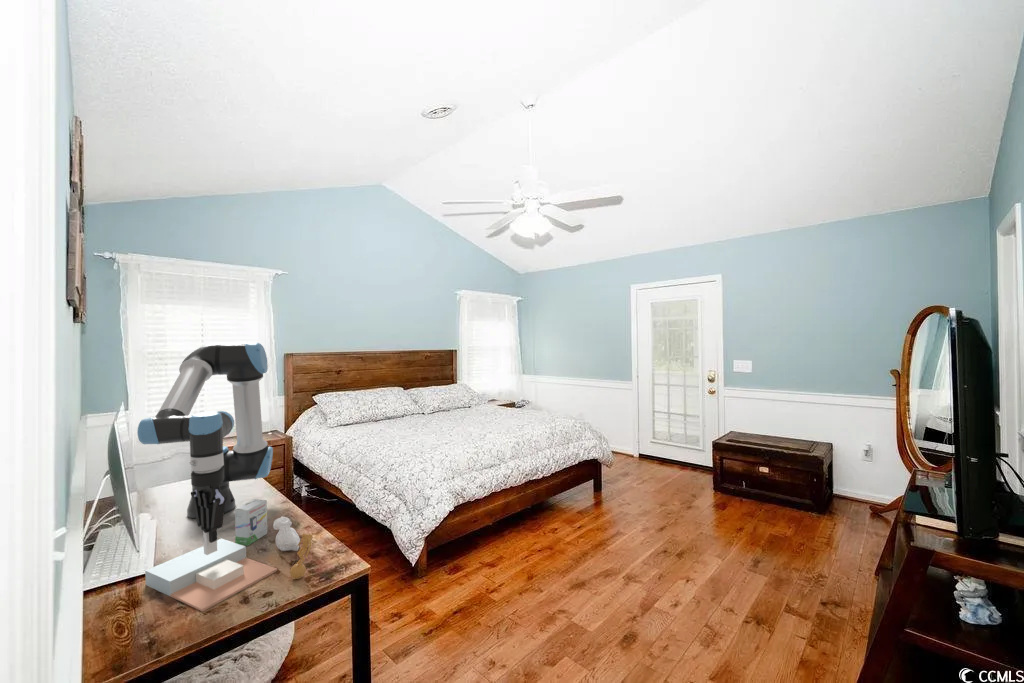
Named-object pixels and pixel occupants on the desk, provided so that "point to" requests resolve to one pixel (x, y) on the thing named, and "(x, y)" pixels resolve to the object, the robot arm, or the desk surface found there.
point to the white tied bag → (286, 535)
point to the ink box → (250, 521)
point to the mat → (223, 586)
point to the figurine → (301, 557)
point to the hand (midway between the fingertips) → (210, 552)
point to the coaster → (219, 574)
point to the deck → (190, 566)
